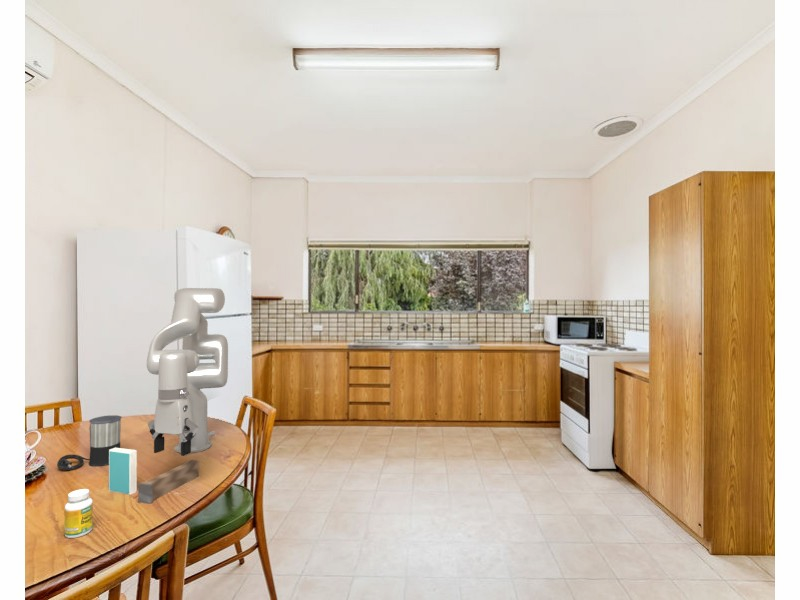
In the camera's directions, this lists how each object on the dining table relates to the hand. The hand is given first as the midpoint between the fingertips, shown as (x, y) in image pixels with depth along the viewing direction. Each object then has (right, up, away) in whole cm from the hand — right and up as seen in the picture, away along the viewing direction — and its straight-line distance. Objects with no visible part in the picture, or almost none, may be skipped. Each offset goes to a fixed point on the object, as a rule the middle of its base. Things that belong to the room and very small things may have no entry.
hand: (172, 453), depth 125 cm
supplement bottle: (-10, -11, -24) cm, 28 cm away
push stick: (0, -11, +1) cm, 11 cm away
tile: (-13, -11, -2) cm, 17 cm away
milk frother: (-38, -11, +19) cm, 43 cm away
